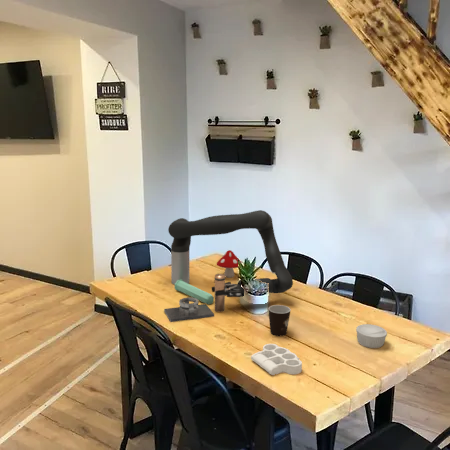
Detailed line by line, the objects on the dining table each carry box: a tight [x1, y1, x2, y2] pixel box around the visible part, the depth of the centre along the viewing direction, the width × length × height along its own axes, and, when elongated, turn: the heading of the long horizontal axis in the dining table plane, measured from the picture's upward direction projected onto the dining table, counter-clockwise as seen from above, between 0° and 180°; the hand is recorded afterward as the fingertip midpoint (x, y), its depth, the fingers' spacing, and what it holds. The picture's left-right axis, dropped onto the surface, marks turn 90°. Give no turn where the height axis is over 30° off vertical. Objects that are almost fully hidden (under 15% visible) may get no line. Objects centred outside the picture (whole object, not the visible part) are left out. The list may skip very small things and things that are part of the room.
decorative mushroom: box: [216, 249, 243, 279], centre depth 254 cm, size 14×14×15 cm
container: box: [174, 280, 215, 305], centre depth 226 cm, size 6×6×25 cm
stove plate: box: [163, 296, 215, 323], centre depth 205 cm, size 12×19×6 cm, turn 110°
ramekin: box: [355, 323, 388, 349], centre depth 181 cm, size 11×11×5 cm
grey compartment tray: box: [250, 343, 303, 376], centre depth 165 cm, size 3×18×15 cm
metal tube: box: [214, 273, 226, 313], centre depth 209 cm, size 5×5×16 cm
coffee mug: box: [268, 304, 292, 337], centre depth 188 cm, size 12×9×10 cm
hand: (213, 291), depth 208 cm, fingers closed on metal tube, 4 cm apart
